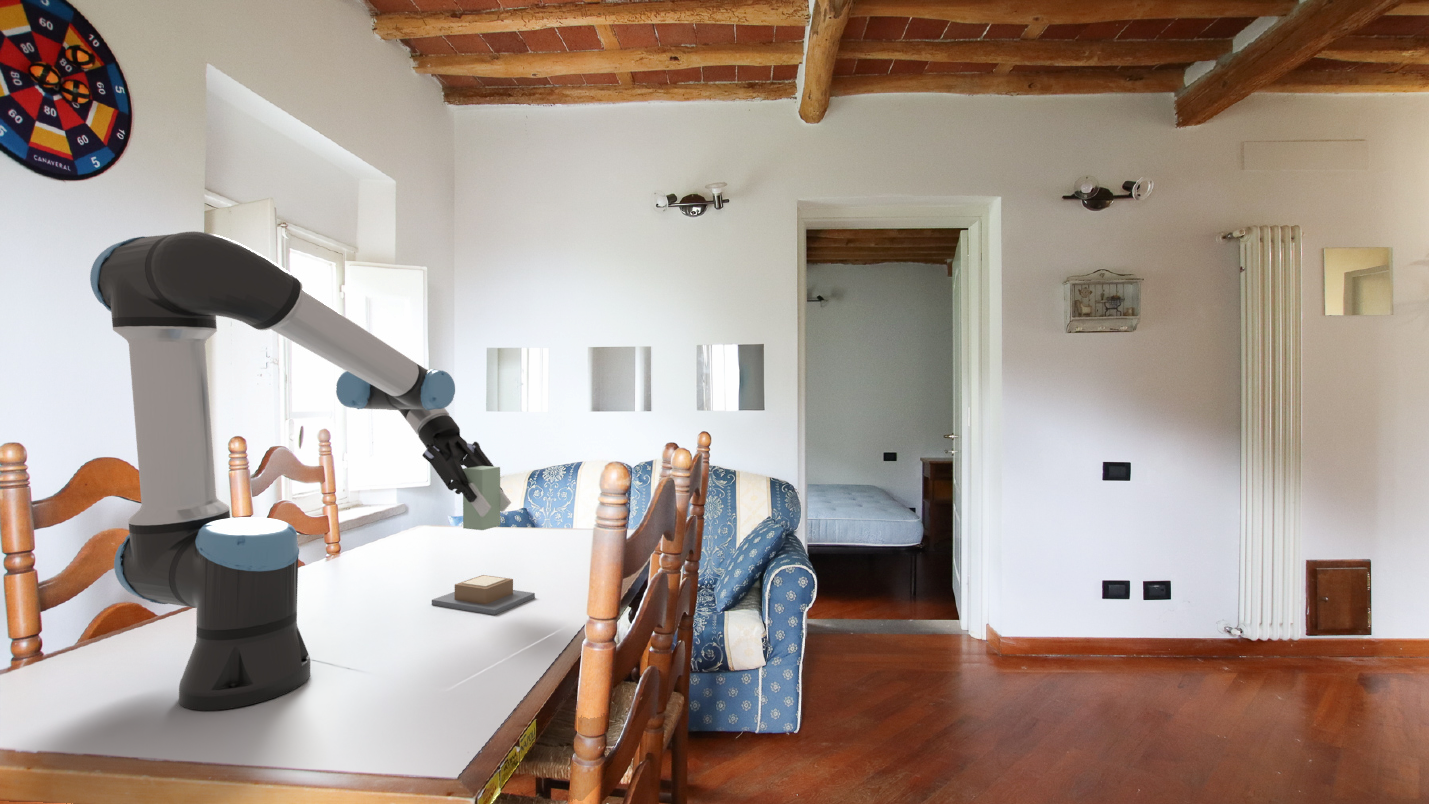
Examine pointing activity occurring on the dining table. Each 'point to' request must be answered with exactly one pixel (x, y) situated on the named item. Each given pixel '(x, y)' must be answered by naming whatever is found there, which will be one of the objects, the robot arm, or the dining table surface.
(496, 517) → the sage block
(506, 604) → the build base
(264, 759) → the dining table surface
